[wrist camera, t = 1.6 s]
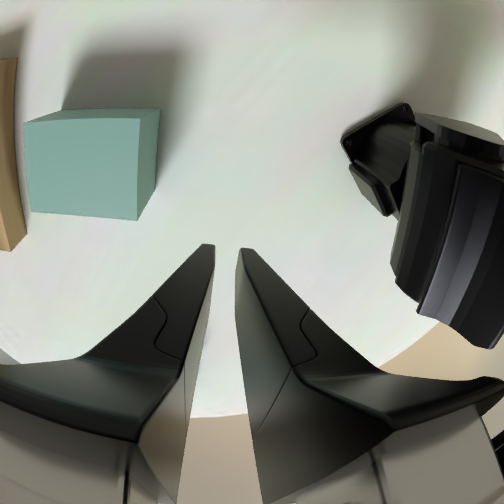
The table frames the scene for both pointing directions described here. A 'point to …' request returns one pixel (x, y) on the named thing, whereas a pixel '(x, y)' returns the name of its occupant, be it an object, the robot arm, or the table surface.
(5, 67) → the board
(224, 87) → the table surface
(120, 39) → the table surface
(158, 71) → the table surface
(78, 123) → the block
